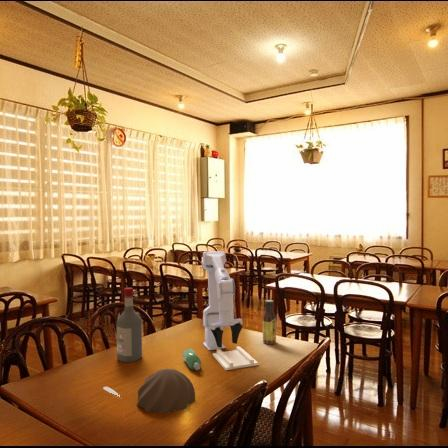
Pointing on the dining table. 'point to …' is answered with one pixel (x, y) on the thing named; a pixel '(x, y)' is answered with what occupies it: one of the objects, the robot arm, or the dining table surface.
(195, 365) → the green bottle
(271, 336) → the sauce bottle
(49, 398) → the dining table surface
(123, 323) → the liquor
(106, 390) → the butter knife
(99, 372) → the dining table surface
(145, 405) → the decorative dome
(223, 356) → the bottle cradle
